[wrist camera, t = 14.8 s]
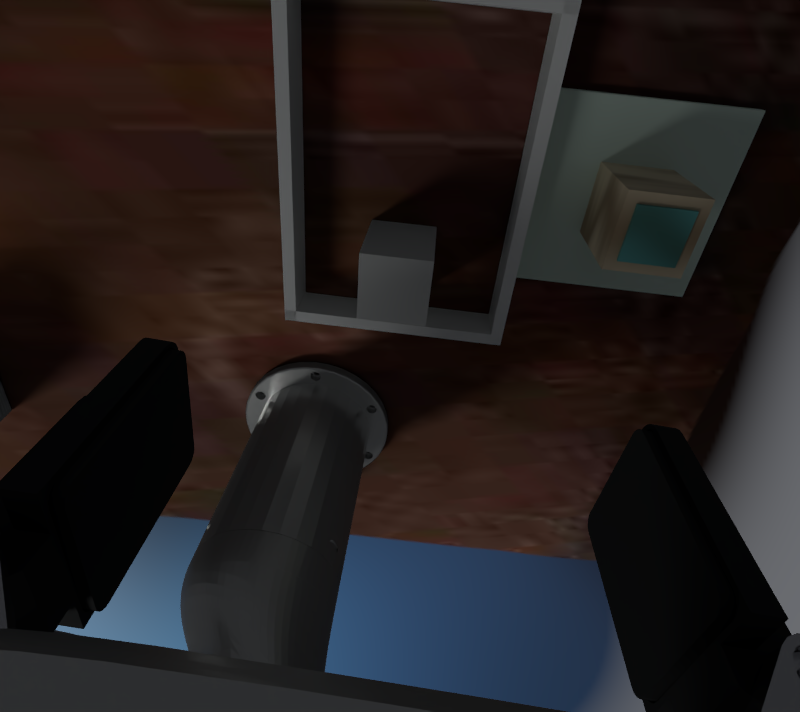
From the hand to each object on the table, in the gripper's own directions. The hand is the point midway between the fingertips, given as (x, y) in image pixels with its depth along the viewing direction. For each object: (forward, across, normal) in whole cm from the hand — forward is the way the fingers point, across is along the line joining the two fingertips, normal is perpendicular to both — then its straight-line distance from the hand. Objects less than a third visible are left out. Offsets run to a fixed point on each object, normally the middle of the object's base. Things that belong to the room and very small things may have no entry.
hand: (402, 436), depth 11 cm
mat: (+26, -13, 0) cm, 29 cm away
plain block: (+27, +1, +7) cm, 28 cm away
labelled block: (+26, -13, 0) cm, 29 cm away
